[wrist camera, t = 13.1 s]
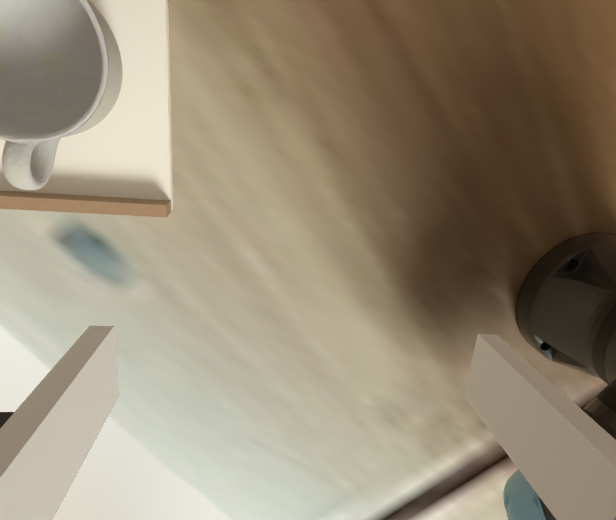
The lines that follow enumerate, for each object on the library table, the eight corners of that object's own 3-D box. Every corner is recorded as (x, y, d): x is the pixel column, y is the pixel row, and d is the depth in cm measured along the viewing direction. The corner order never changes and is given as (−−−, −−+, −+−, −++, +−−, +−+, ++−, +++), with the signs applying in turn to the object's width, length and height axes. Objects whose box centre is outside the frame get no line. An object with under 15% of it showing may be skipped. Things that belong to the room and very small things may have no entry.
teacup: (-7, -49, 27) (-104, -112, 20) (154, 19, 30) (122, -14, 22) (-31, 148, 31) (-119, 158, 24) (114, 193, 34) (75, 215, 26)
